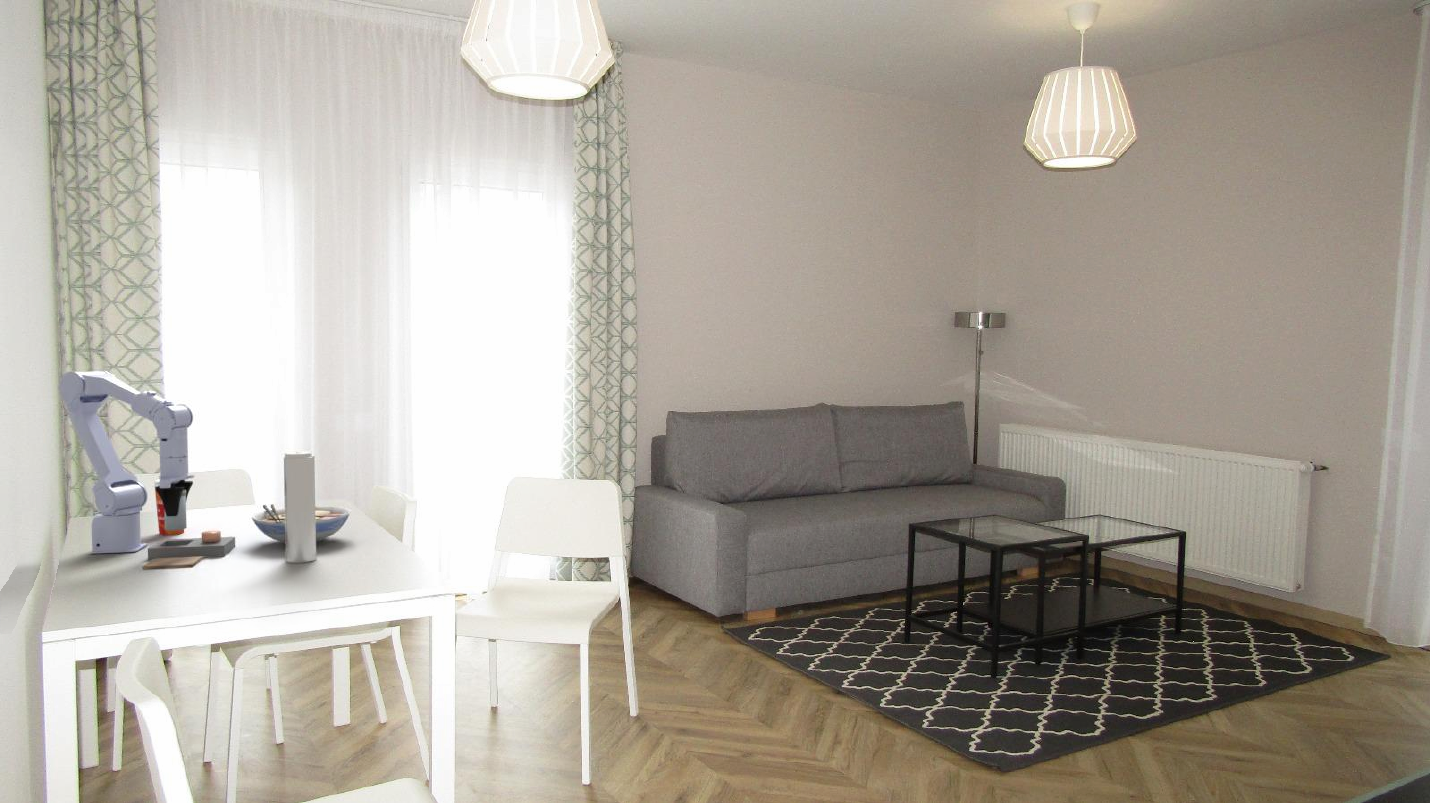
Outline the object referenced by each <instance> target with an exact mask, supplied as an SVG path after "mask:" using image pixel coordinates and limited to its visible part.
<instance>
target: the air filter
mask: <svg viewBox="0 0 1430 803" xmlns="http://www.w3.org/2000/svg"><path fill="white" fill-rule="evenodd" d="M315 465H316V464H315V455H313V454H312V452H311V451H288V452H286V453H284V457H283V481H284V482H283V483H284V486H283V487H284V488H283V489H284V490H283V491H284V493H283V494H284V508H285V542H284V543H285V544H284V545H285V546H284V547H285V562H286V563H289V564H305V563H309V562H314V561H316V560H317V543H316V517H315V506H316V478H315V477H316V476H315V475H316V474H315V473H316V472H315V470H316V469H315Z"/></svg>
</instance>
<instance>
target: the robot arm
mask: <svg viewBox="0 0 1430 803" xmlns="http://www.w3.org/2000/svg"><path fill="white" fill-rule="evenodd" d="M58 391H59V393H60V397H61V398H62V400H63V403H64V404H65V406H66V410H67V412H66V413H67V415H68V418H69V421H70V422H71V424H72V426H73V428H74V430H75V433H76V434H77V437H78V438H79V440H80V442H81V445H82V447H83V449H84V452H85V453H86V455H87V457H88V459H89V461H90V464H91V466H92V468H93V470H94V472H95V474H96V477H97V479H98V480H97V481H96V483H95V484H94V485H93V486H92V489H91V490H92V492H93V494H94V503H95V507H96V509H97V510H98V511H99V512H100V513H97V514H95V515H94V516H93V518H92V521H91V548H92V549H91V550H92V551H91V552H90V553H91V555H92V554H115V553H136V552H138V551H139V550H142V549H143V548H144V547H146V546H148V543H146V542H143V543H141V542H142V540H141V512H142V511H143V507H144V506H145V505H146V504H147V501H148V491H147V489H146V487H145V486H144V485H143V484H142V483H141V482H140V481H139V480H138V478H137V476H136V475H135V474H133V473H131V472H128V471H127V470H125V469H124V467H123V465H122V463H121V461H120V459H119V456H118V455H117V452H116V450H115V448H114V446H113V444H112V442H111V440H110V437H109V436H108V434H107V433H108V432H107V431H106V430H105V427H104V425H103V423H102V421H101V419H100V417H99V415H98V414H99V413H98V410H99V409H101V408H102V407H103V406H104V404H105V402H106V401H107V400H108V399H109V397H112V398H115V399H116V400H119V401H121V402H123V403H125V404H128V405H129V406H130V407H131V411H132V412H133V413H135V414H137V415H139V416H140V417H142V418H144V419H146V420H148V421H150V422H152V425H153V426H154V428H155V429H156V436H157V437H158V438H159V439H158V440H159V441H158V442H159V476H158V478H159V479H158V480H160V486H157V487H156V491H157V493H158V494H159V496H160V498H161V500H162V502H163V506H164V509H165V513H166V515H167V516H177V515H178V511H179V502H180V497H181V494H182V492H183V489H185V490H186V501H187V499H188V495H189V493H190V490H191V488H192V486H193V485H194V481H193V480H188V479H193V478H195V475H194V474H193V473H192V474H190V473H189V454H188V453H189V450H188V449H189V448H188V447H189V445H188V428H190V426H191V425H192V423H193V421H194V415H193V412H192V410H191V408H189V407H188V406H187V405H186V404H183V403H182V404H177V405H176V404H174V403H173V402H172V401H171V400H170V399H165V398H162V397H160V396H158V395H157V392H156V391H153V390H148V391H147V390H146V391H141V392H140V391H138V390H137V389H135V388H133V387H131V386H130V385H128V384H126V383H125V382H123V381H122V380H120V379H118V378H117V376H116V374H112V373H110V372H109V371H108V370H103V369H102V370H98V371H97V370H96V371H95V370H94V371H73V370H72V371H67V372H65V373H64V374H63V375H62V377H61V379H60V382H59V385H58ZM185 480H186V481H185Z"/></svg>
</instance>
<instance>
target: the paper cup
mask: <svg viewBox="0 0 1430 803" xmlns="http://www.w3.org/2000/svg"><path fill="white" fill-rule="evenodd" d="M185 481H187V479H186V480H185ZM157 486H160V479H156V480H155V481H154V484H153V487H154V492H155V493H154V494H155V503H156V514H157V516H156V517H157V523H158V532H159V535H160V536H175V535H181V534H183V533H185V529H182V530H165V510H164V506H163V502H162V500H161V498H160V496H159V494H158V493H157V491H156V487H157Z"/></svg>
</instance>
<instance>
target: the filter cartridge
mask: <svg viewBox="0 0 1430 803" xmlns="http://www.w3.org/2000/svg"><path fill="white" fill-rule="evenodd" d="M164 510H165V509H164ZM187 528H188V526H187V500H186V490H185V489H183V492H182V494H181V497H180V502H179V511H178V515H177V516H167V515H166V513H165V530H182V529H184V530H185V529H187Z"/></svg>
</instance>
